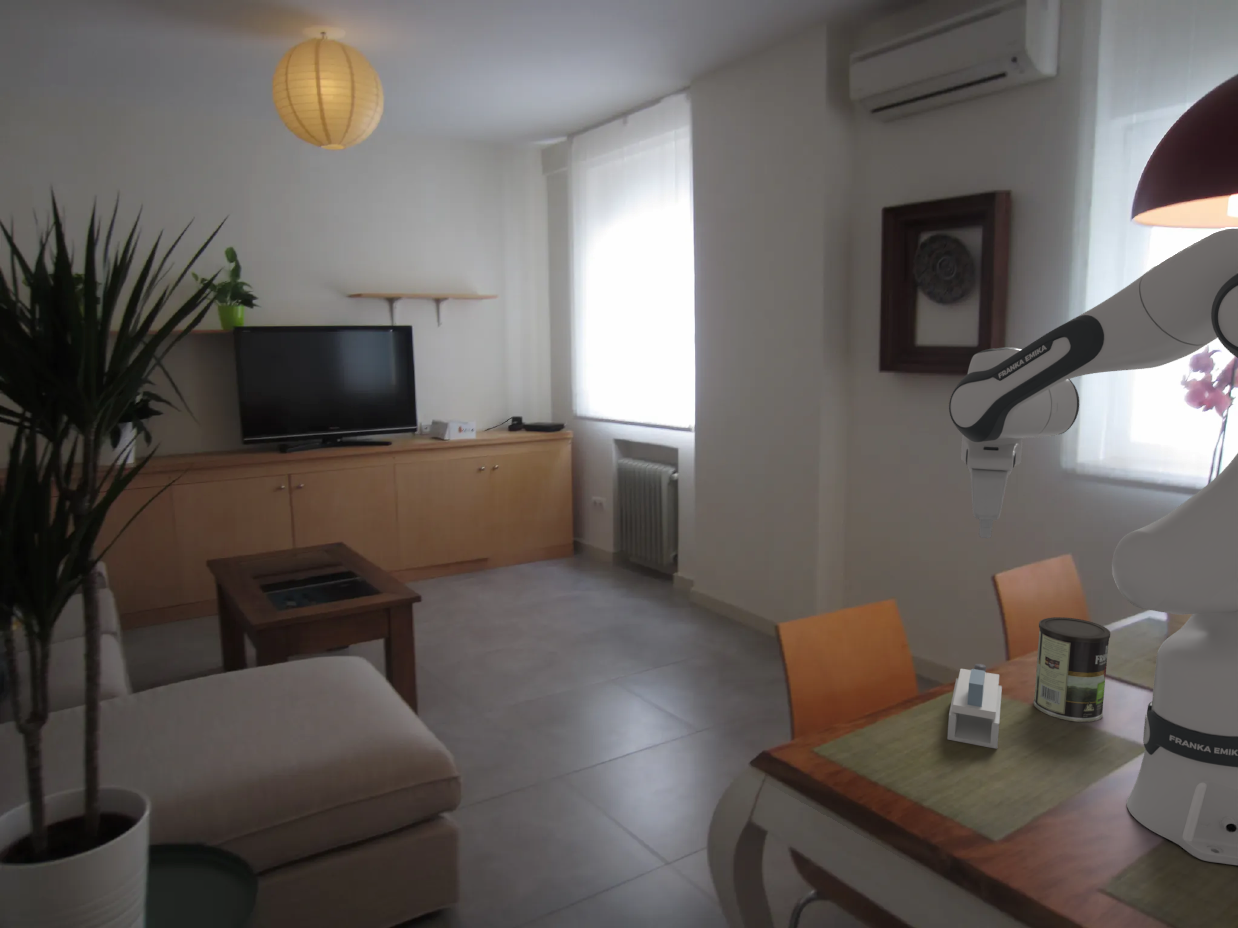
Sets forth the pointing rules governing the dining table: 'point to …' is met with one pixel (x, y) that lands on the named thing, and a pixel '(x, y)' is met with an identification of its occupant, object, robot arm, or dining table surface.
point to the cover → (976, 692)
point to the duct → (974, 726)
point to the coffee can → (1071, 669)
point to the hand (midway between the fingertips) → (985, 536)
